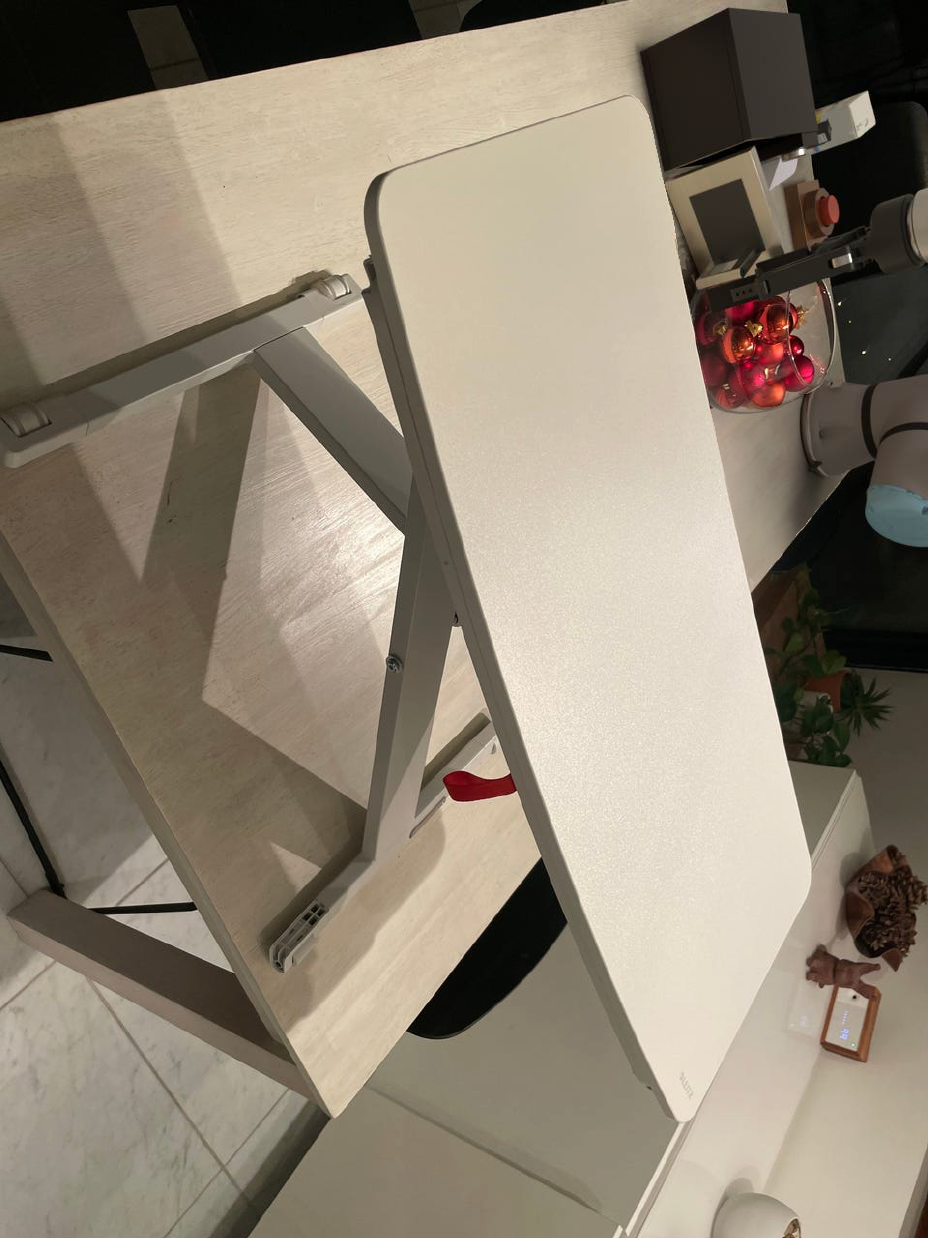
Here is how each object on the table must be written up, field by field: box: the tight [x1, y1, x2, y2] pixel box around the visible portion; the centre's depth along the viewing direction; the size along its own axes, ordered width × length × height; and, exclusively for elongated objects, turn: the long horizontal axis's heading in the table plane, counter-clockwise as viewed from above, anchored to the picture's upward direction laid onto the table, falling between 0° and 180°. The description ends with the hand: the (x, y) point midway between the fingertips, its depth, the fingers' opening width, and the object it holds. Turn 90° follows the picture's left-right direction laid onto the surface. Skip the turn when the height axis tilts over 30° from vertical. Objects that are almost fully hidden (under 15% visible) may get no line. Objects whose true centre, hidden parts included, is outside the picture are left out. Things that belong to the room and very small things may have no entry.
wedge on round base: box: [761, 158, 799, 192], centre depth 135 cm, size 9×7×13 cm
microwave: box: [639, 7, 819, 173], centre depth 120 cm, size 16×20×12 cm
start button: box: [818, 195, 840, 226], centre depth 144 cm, size 4×4×2 cm
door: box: [664, 146, 791, 291], centre depth 117 cm, size 8×15×12 cm, turn 40°
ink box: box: [797, 90, 876, 160], centre depth 140 cm, size 9×5×12 cm, turn 123°
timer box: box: [783, 179, 835, 251], centre depth 146 cm, size 10×8×4 cm
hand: (735, 286), depth 114 cm, fingers open, 13 cm apart
